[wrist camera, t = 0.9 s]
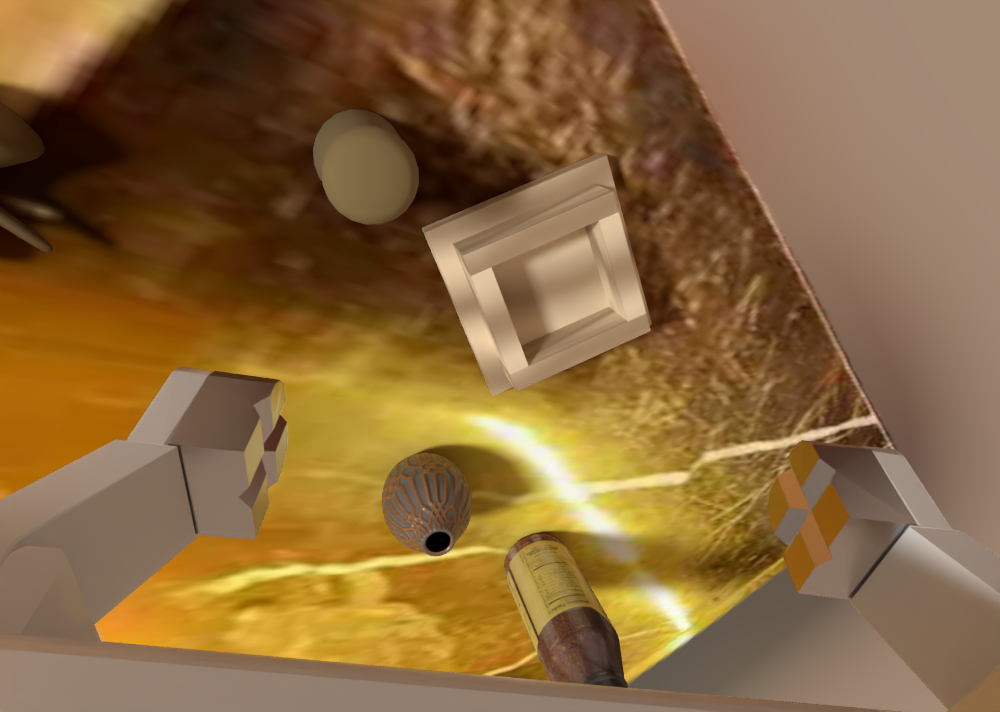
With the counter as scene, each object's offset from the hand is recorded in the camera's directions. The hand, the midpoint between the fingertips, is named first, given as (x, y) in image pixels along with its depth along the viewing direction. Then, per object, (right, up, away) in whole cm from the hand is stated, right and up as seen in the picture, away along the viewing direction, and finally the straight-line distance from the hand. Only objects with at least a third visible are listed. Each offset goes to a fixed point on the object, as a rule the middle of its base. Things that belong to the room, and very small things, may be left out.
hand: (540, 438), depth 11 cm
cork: (-10, +15, +34) cm, 38 cm away
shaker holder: (+2, +7, +40) cm, 41 cm away
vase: (-7, -9, +45) cm, 46 cm away
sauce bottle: (+2, -17, +51) cm, 54 cm away
